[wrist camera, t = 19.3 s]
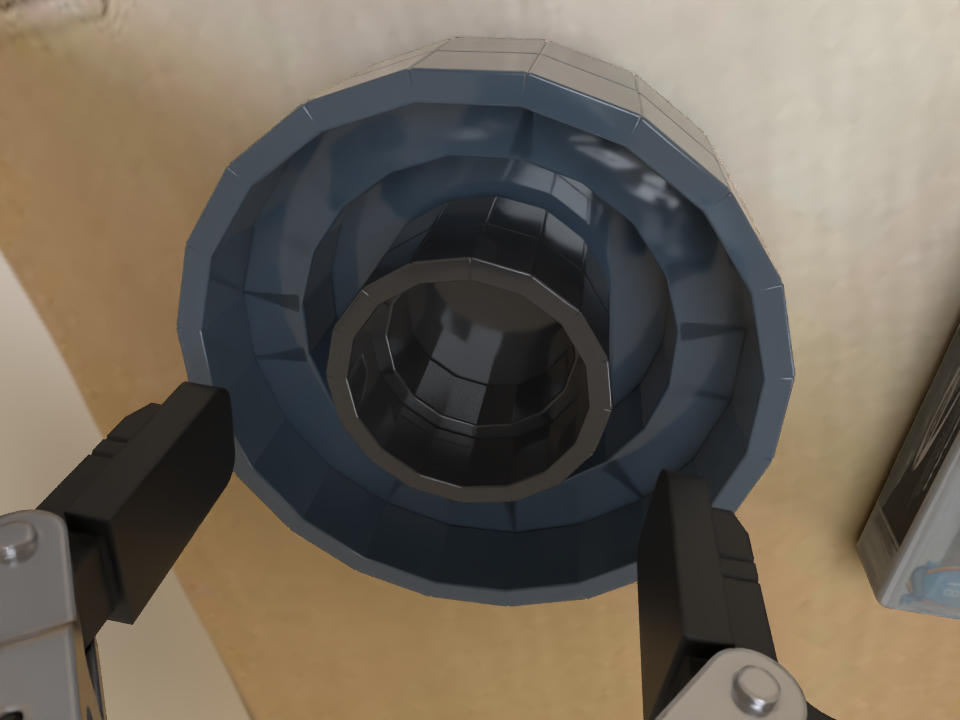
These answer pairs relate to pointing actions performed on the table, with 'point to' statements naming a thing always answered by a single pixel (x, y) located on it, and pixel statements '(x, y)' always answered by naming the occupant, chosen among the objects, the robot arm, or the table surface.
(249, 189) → the grey bowl
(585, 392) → the black cup
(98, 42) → the table surface
